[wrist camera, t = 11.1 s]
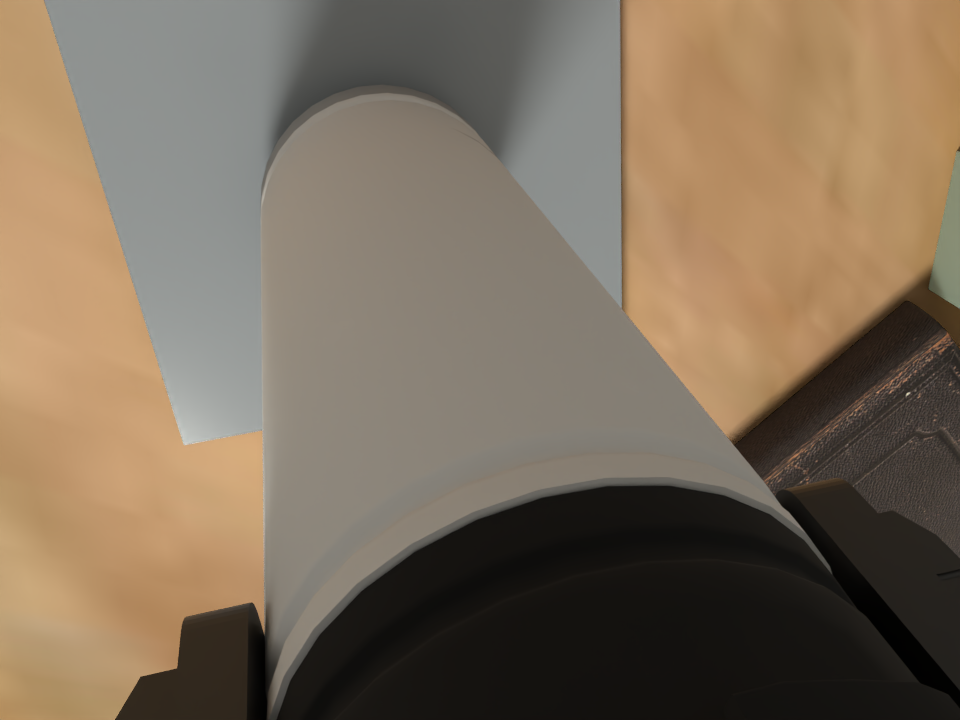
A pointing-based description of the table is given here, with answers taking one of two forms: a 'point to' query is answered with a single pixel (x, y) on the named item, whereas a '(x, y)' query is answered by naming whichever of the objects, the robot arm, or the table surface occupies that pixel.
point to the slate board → (283, 98)
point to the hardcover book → (876, 425)
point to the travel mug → (508, 469)
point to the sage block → (949, 245)
